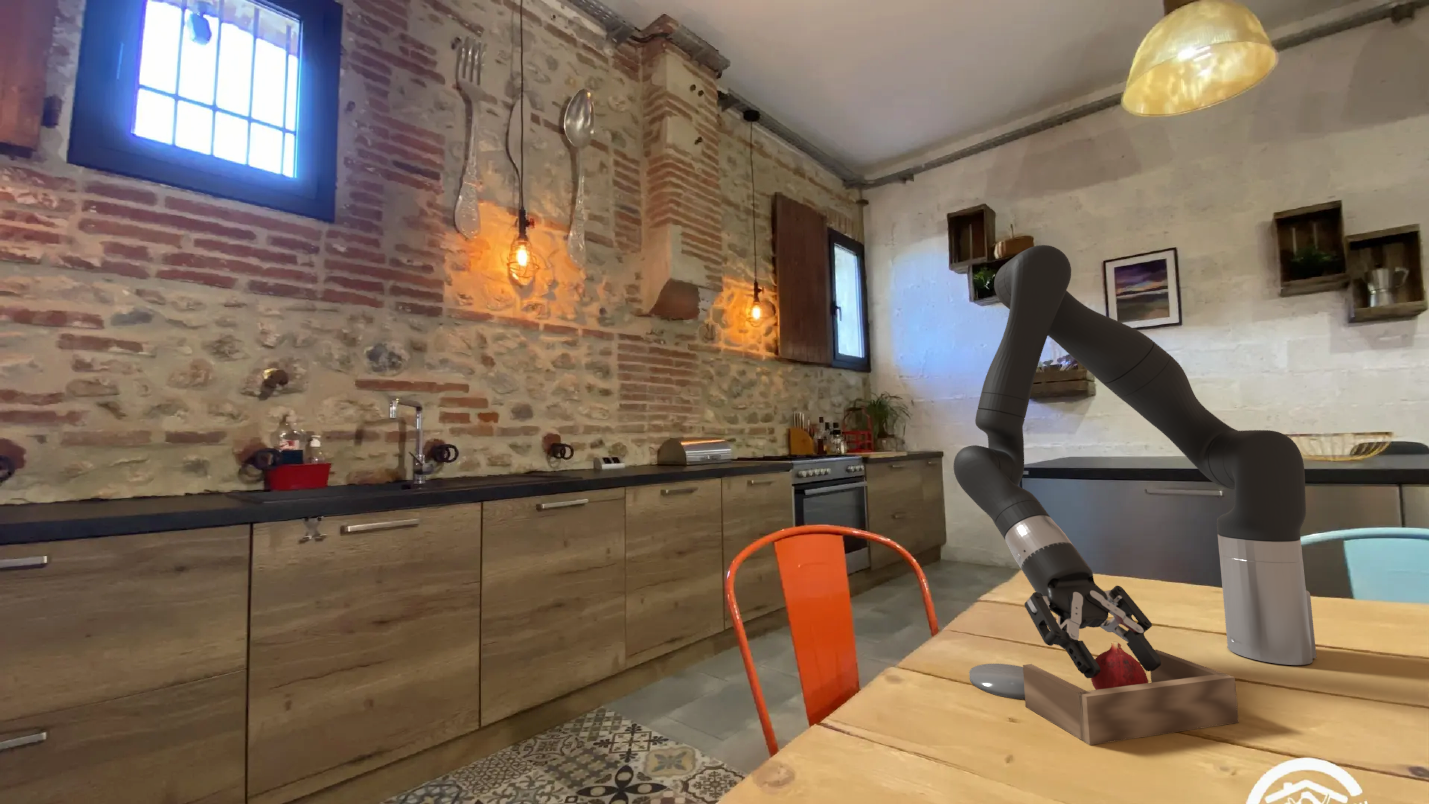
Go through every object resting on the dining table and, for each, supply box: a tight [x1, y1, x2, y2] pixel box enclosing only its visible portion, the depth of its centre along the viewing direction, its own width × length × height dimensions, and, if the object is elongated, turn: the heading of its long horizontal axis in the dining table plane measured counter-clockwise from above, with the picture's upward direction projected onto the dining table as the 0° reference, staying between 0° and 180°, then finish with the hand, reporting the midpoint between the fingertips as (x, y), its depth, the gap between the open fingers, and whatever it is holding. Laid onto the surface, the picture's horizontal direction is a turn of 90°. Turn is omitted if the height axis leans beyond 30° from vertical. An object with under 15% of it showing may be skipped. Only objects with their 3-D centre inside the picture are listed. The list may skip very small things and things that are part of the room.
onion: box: [1090, 641, 1149, 690], centre depth 71 cm, size 6×6×8 cm
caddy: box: [1022, 649, 1240, 746], centre depth 70 cm, size 20×10×5 cm, turn 102°
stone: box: [968, 663, 1025, 700], centre depth 80 cm, size 10×10×1 cm
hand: (1125, 671), depth 70 cm, fingers open, 8 cm apart
